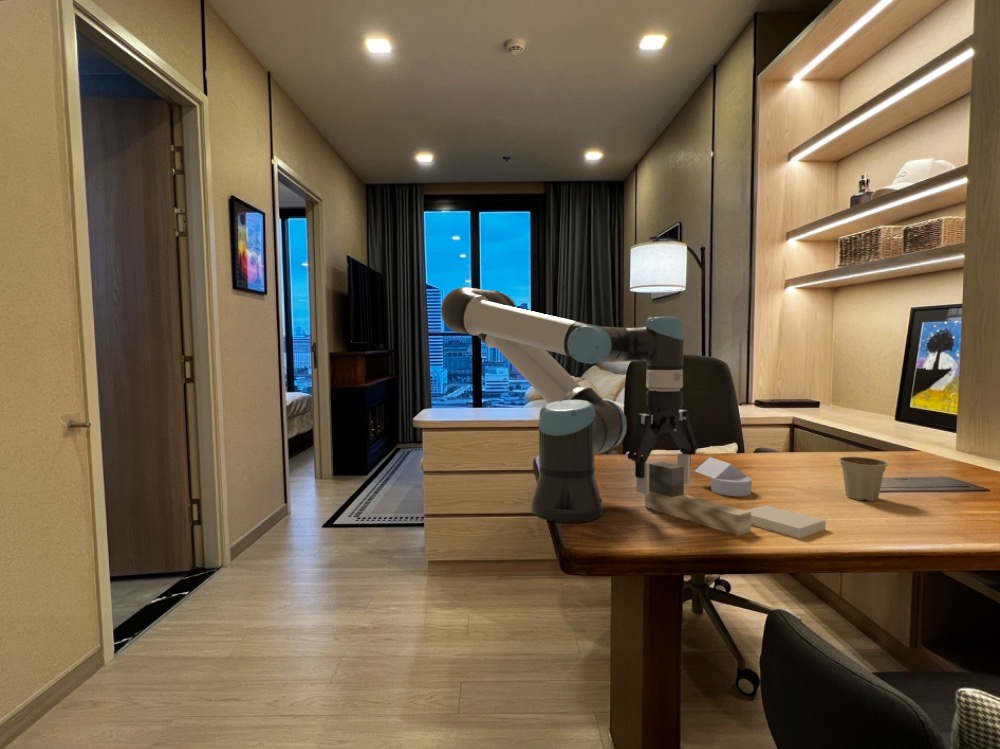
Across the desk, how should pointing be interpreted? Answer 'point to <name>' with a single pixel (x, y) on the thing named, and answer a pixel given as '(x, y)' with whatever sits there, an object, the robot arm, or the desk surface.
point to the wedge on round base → (725, 478)
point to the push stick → (691, 501)
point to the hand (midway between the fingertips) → (663, 488)
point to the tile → (786, 521)
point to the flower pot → (862, 477)
